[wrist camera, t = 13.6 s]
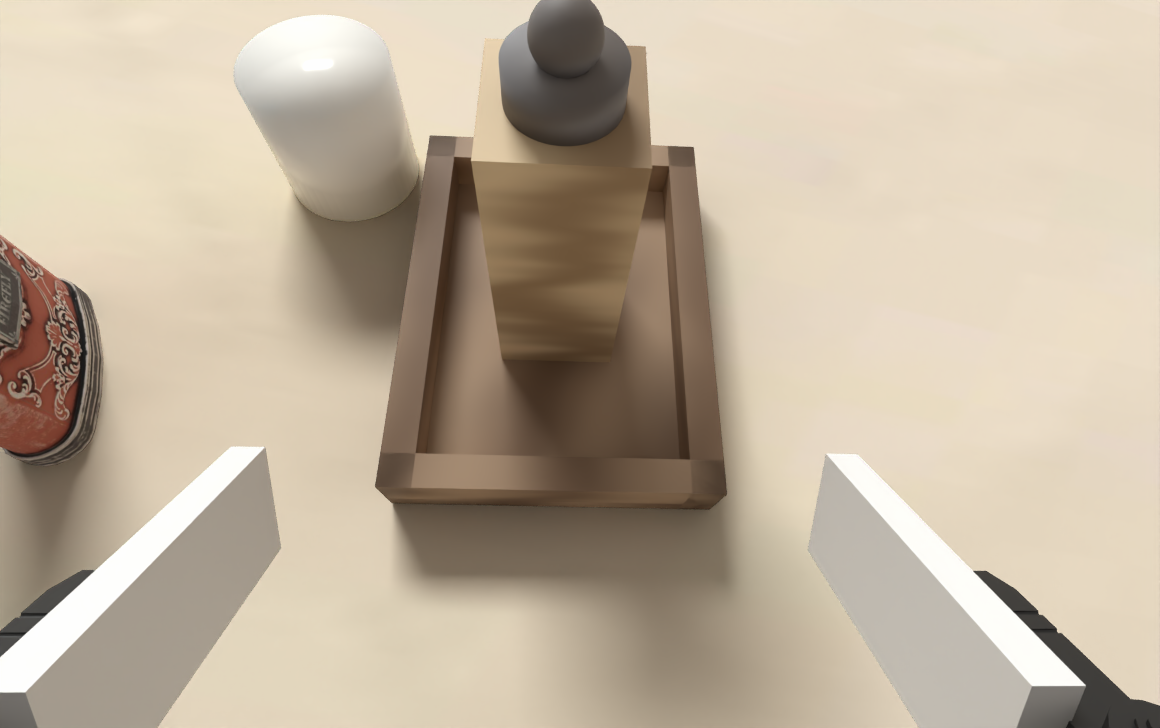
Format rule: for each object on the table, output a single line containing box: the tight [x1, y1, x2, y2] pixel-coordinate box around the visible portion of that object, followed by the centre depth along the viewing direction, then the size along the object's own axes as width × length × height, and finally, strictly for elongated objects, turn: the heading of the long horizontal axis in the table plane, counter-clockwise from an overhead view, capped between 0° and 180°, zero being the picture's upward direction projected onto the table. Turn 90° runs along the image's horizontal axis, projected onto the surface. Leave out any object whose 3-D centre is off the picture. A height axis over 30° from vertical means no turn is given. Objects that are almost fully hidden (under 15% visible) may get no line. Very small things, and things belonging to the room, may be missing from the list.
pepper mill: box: [471, 0, 652, 363], centre depth 19 cm, size 4×4×14 cm
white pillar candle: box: [234, 15, 419, 222], centre depth 27 cm, size 6×6×6 cm
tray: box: [375, 136, 727, 509], centre depth 25 cm, size 12×16×2 cm
